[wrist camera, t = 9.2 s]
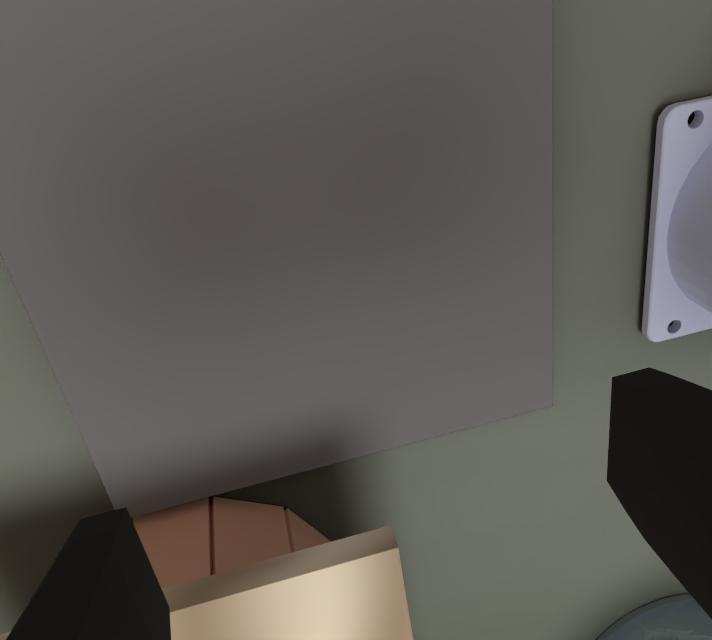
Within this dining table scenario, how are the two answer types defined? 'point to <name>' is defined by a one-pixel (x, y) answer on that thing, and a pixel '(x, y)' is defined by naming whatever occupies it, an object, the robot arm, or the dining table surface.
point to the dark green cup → (663, 622)
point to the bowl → (219, 537)
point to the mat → (278, 226)
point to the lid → (300, 596)
